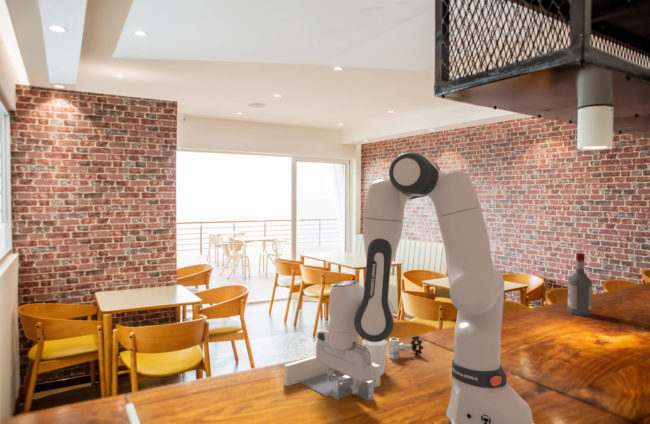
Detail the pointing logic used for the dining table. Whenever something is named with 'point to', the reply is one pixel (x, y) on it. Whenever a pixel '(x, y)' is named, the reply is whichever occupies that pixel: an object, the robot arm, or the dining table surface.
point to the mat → (322, 384)
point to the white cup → (377, 352)
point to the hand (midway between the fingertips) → (342, 386)
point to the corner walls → (316, 371)
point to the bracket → (343, 388)
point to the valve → (403, 347)
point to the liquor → (579, 290)
